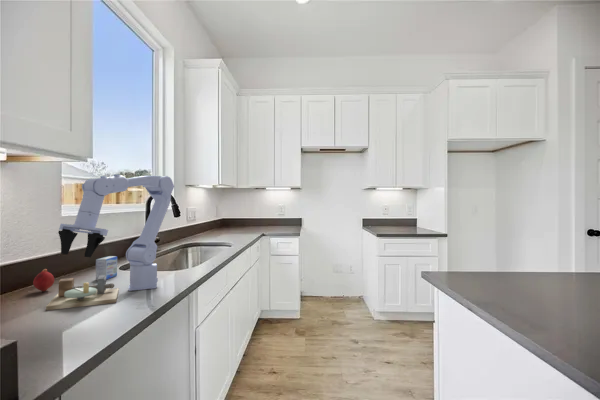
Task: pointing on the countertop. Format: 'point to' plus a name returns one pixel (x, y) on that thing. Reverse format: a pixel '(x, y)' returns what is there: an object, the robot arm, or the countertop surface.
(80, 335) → the countertop surface
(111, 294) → the board
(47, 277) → the onion
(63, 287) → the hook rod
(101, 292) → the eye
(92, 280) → the countertop surface
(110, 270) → the medicine box
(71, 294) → the handwheel
